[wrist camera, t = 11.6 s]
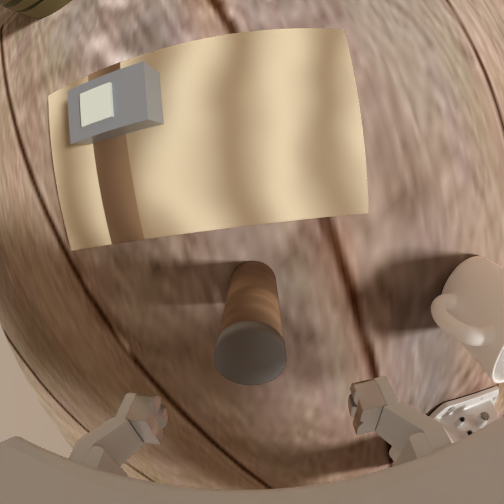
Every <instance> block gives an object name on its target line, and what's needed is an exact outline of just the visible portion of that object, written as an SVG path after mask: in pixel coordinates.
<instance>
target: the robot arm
mask: <svg viewBox="0 0 504 504" xmlns="http://www.w3.org/2000/svg"><path fill="white" fill-rule="evenodd" d="M350 391H351V394H350V395H349V399H348V407H349V412H350V416H352V417H353V418H354V420H353V426H354V429H355V433H356V435H359V434H364V433H369V432H373V431H375V432H376V433H377V434H378V435H379V436H380V437H382V438H383V439H384V440H385V441H387V442H388V443H389V444H390V445H391V446H392V447H391V449H390V451H389V456H390V457H391V458H392V460H393V461H394V462H395V463H394V467H391V468H387V469H384V470H381V471H377V472H374V473H370V474H366V475H362V476H358V477H353V478H349V479H344V480H339V481H334V482H328V483H322V484H316V485H308V486H300V487H291V488H279V489H260V490H223V489H205V488H193V487H184V486H176V485H168V484H162V483H156V482H150V481H145V480H140V479H135V478H131V477H127V476H128V475H127V473H126V472H125V471H124V470H123V469H122V468H121V467H120V466H121V465H122V464H123V463H124V462H125V461H126V460H127V459H128V458H130V457H131V456H132V455H133V454H134V453H135V452H136V451H137V450H138V449H139V448H140V447H141V446H142V445H143V444H144V443H151V444H160V445H161V442H162V439H163V436H164V432H163V430H162V429H163V428H164V427H166V425H167V421H168V414H167V410H166V408H165V407H164V406H163V405H161V402H162V400H161V398H160V396H157V395H147V394H137V393H129V392H128V393H127V394H126V395H125V397H124V399H123V401H122V403H121V406H120V408H119V410H118V412H117V414H116V416H115V417H112V418H110V419H109V420H107V421H106V422H104V423H103V424H101V425H100V426H98V427H97V428H95V429H94V430H92V431H91V432H89V433H88V434H86V435H85V436H83V437H82V438H80V439H78V441H77V443H76V445H75V447H74V449H73V451H72V453H71V455H70V457H69V459H68V458H65V457H63V456H60V455H58V454H55V453H53V452H50V451H48V450H46V449H43V448H41V447H39V446H37V445H35V444H33V443H31V442H29V441H27V440H25V439H23V438H21V437H17V436H15V437H12V438H9V439H7V440H5V441H3V442H1V443H0V504H504V415H503V416H501V417H500V418H499V416H498V413H497V410H496V408H495V406H494V404H495V402H496V400H497V397H498V394H499V389H498V387H497V386H495V387H492V388H489V389H486V390H484V391H481V392H478V393H475V394H472V395H469V396H466V397H462V398H459V399H456V400H452V401H448V402H445V403H443V404H442V405H440V406H439V407H438V408H437V409H436V410H435V411H434V412H433V413H432V414H431V415H430V416H427V415H425V414H424V413H422V412H420V411H418V410H416V409H415V408H413V407H411V406H409V405H408V404H406V403H404V402H402V401H401V402H399V401H398V399H397V397H396V395H395V393H394V391H393V389H392V387H391V385H390V383H389V381H388V379H387V377H386V376H383V377H379V378H374V379H369V380H365V381H360V382H356V383H352V384H351V387H350Z"/></svg>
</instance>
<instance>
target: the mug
mask: <svg viewBox="0 0 504 504" xmlns="http://www.w3.org/2000/svg"><path fill="white" fill-rule="evenodd" d="M431 314H432V317H433V319H434V321H435V322H436V324H437V325H438V326H439V327H440V328H441V329H442V330H443V331H444V332H445V333H447V334H448V335H449V336H451V337H452V338H454V339H456V340H457V341H460V342H461V343H462V344H463V345H464V346H465V348H466V349H467V350H468V351H469V352H470V353H471V355H472V356H473V357H474V358H475V360H476V361H477V362H478V363H479V364H480V366H481V367H482V368H483V369H484V371H485V372H486V373H487V374H488V376H489V377H490V378H491V380H492V381H493V382H495V383H502V382H504V268H502V267H501V266H499V265H497V264H496V263H494V262H493V261H491V260H489V259H487V258H485V257H481V256H474V257H470V258H468V259H466V260H465V261H463V262H462V263H460V264H459V265H458V266H457V267H456V268H455V269H454V271H453V272H452V273H451V275H450V276H449V278H448V279H447V281H446V283H445V285H444V288H443V290H442V294H441V295H439V296H438V297H436V298H435V299H434V300H433V302H432V304H431Z"/></svg>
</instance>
